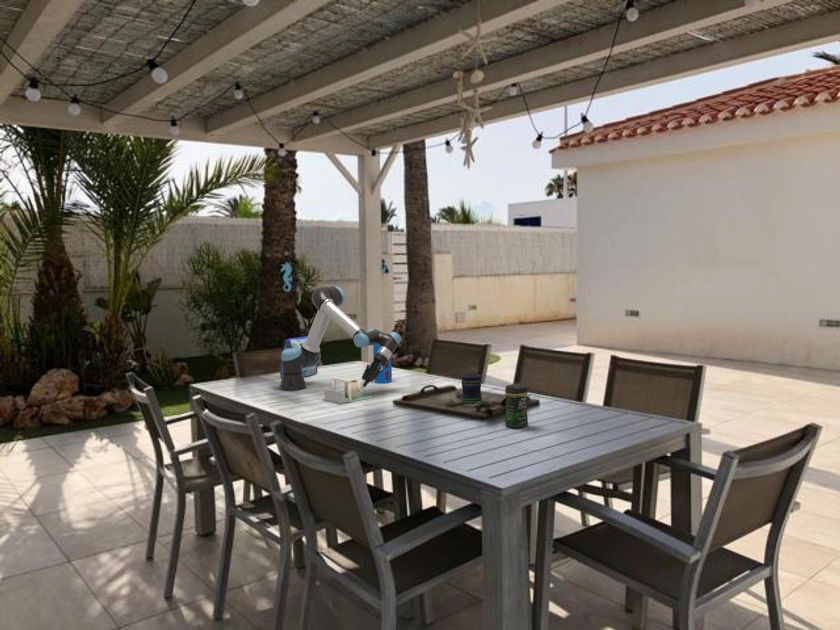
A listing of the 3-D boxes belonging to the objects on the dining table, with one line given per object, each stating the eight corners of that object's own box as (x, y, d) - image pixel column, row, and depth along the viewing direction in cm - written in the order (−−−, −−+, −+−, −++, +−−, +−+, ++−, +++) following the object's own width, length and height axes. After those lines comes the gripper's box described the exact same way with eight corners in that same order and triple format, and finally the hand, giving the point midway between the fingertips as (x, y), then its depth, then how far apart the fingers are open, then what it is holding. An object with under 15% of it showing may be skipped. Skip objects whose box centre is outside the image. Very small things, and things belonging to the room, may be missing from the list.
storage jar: (471, 408, 330) (470, 377, 329) (457, 405, 337) (457, 375, 336) (485, 405, 336) (485, 375, 335) (472, 402, 344) (471, 373, 343)
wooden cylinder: (342, 398, 362) (341, 381, 361) (352, 396, 366) (352, 379, 366) (349, 400, 356) (349, 383, 356) (360, 398, 361) (360, 381, 360)
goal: (324, 399, 360) (324, 378, 359) (335, 397, 364) (334, 377, 363) (341, 403, 348) (340, 382, 347) (352, 401, 352) (351, 380, 352)
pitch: (321, 399, 362) (321, 398, 362) (355, 393, 377) (355, 392, 376) (340, 404, 349) (340, 403, 349) (374, 397, 363) (374, 397, 363)
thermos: (393, 380, 416) (391, 340, 414) (390, 383, 405) (389, 342, 403) (375, 380, 417) (374, 340, 415) (372, 383, 406) (371, 342, 404)
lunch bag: (298, 380, 427) (296, 339, 425) (278, 378, 435) (276, 338, 433) (320, 374, 446) (319, 335, 444) (301, 373, 454) (300, 334, 452)
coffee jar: (515, 429, 285) (514, 386, 283) (502, 426, 291) (501, 384, 290) (531, 426, 291) (530, 383, 289) (518, 423, 297) (517, 381, 295)
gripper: (393, 361, 370) (370, 396, 361) (379, 359, 380) (356, 393, 370) (385, 353, 366) (362, 388, 357) (371, 351, 376) (348, 385, 367)
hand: (359, 390), depth 364 cm, fingers closed
